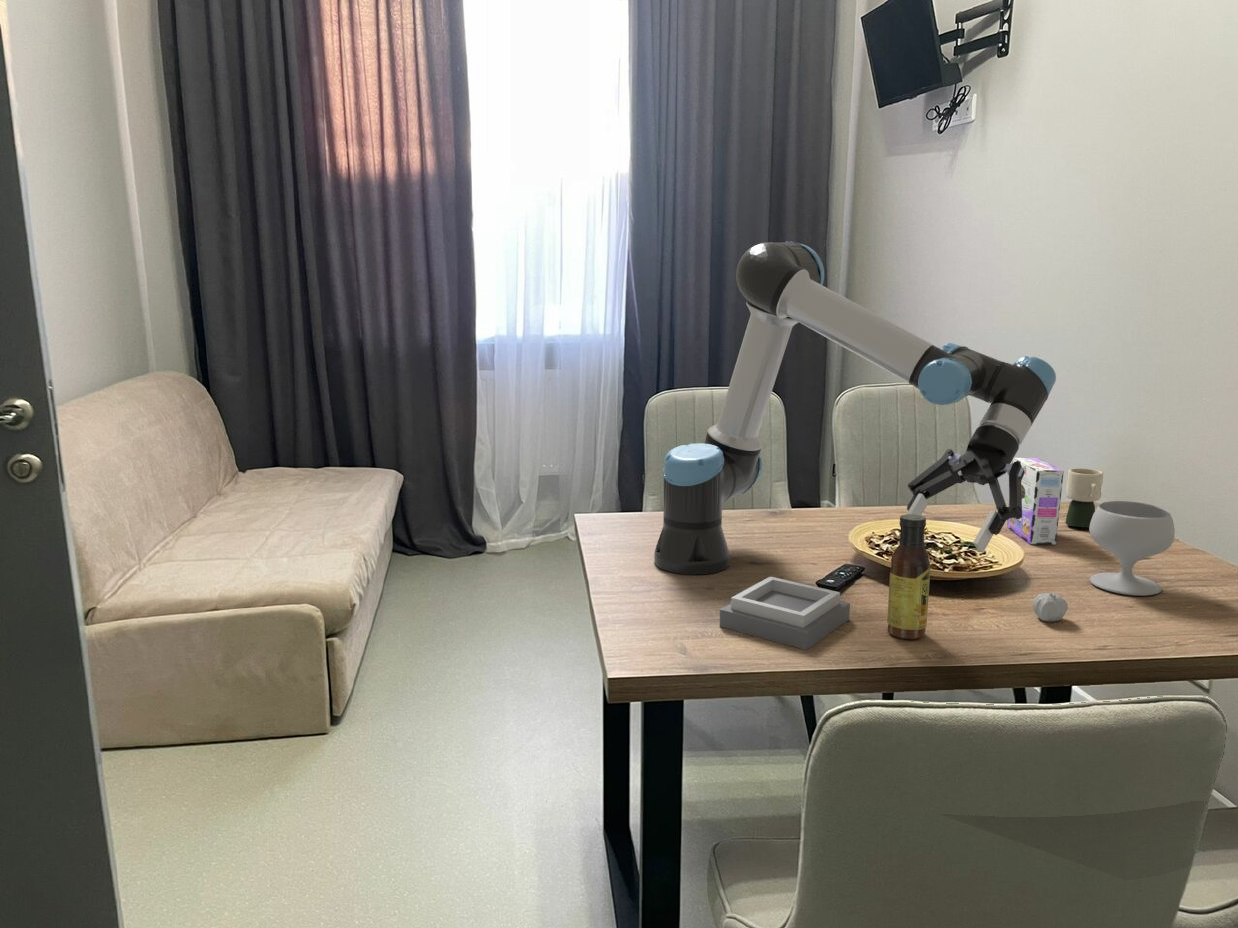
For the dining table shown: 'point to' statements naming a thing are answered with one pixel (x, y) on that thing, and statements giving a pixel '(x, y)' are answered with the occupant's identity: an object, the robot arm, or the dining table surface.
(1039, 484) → the candy box
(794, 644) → the pedestal
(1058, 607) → the garlic
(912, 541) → the sauce bottle
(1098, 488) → the character mug
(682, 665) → the dining table surface
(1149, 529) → the chalice
